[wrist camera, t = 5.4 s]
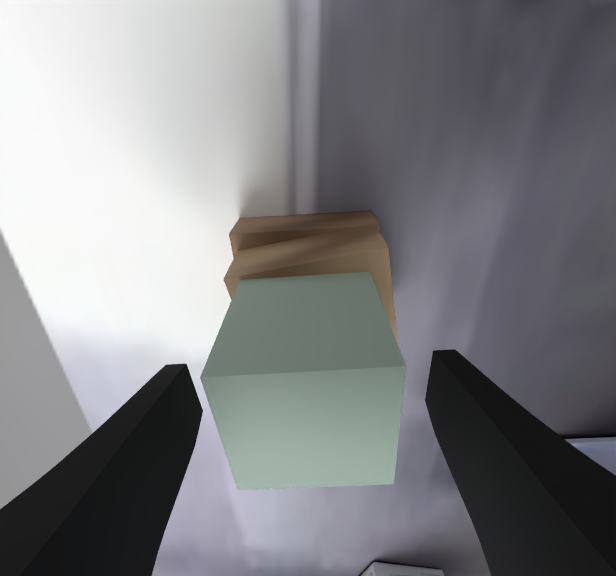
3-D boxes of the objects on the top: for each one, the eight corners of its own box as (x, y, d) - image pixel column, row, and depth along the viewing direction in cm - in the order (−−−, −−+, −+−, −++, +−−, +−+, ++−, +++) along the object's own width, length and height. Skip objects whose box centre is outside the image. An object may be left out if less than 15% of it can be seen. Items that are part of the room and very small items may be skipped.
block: (369, 271, 10) (405, 366, 7) (367, 368, 13) (393, 483, 9) (240, 280, 11) (200, 377, 7) (259, 374, 13) (237, 490, 9)
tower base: (369, 208, 14) (380, 225, 12) (365, 315, 17) (373, 344, 15) (241, 215, 15) (229, 233, 12) (258, 320, 18) (251, 349, 15)
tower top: (374, 222, 12) (388, 247, 10) (387, 334, 15) (400, 372, 13) (237, 250, 13) (223, 279, 11) (273, 353, 16) (267, 392, 13)
